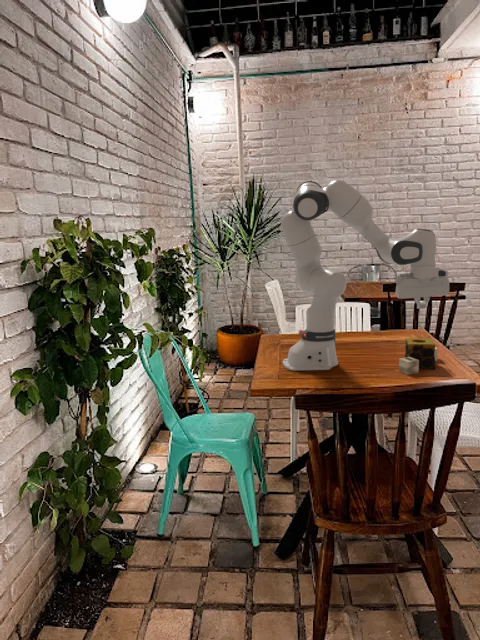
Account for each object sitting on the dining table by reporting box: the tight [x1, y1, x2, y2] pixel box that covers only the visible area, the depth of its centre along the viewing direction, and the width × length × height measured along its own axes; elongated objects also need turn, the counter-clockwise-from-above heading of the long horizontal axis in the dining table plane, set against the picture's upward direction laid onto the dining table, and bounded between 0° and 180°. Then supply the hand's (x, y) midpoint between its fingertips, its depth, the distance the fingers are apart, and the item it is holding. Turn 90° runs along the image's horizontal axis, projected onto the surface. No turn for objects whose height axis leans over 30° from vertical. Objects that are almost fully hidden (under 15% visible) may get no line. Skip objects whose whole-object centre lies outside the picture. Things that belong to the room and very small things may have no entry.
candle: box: [404, 337, 436, 370], centre depth 186 cm, size 10×10×10 cm
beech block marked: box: [398, 357, 420, 376], centre depth 179 cm, size 5×5×5 cm
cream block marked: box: [434, 346, 439, 362], centre depth 194 cm, size 5×5×5 cm
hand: (421, 308), depth 182 cm, fingers closed
